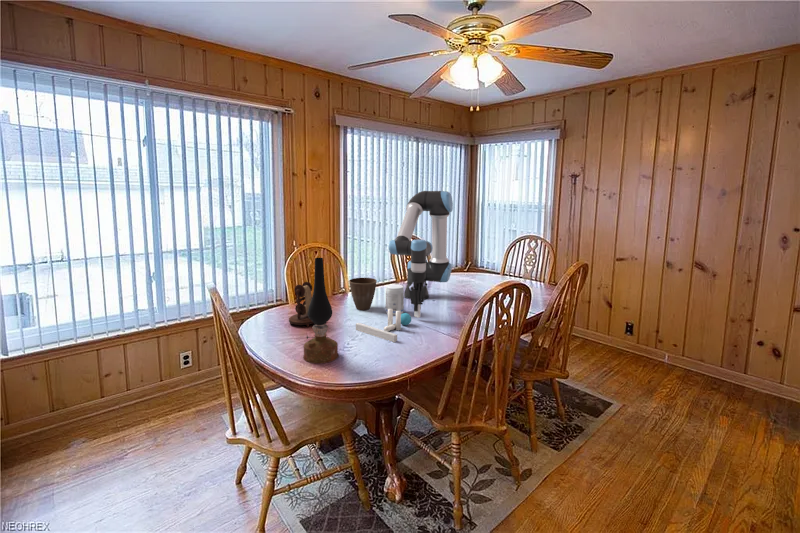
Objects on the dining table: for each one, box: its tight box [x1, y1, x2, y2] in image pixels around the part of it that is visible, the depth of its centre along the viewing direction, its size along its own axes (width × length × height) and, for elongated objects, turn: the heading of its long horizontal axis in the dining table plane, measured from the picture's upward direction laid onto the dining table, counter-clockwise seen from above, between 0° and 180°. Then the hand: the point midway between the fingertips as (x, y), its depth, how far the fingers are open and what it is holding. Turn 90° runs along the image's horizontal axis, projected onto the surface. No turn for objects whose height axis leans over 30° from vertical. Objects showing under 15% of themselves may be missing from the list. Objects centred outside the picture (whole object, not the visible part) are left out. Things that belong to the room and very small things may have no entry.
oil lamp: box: [302, 257, 339, 364], centre depth 163 cm, size 14×15×40 cm
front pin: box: [383, 322, 396, 332], centre depth 197 cm, size 2×2×9 cm
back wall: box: [355, 322, 398, 343], centre depth 188 cm, size 2×24×3 cm, turn 49°
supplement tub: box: [385, 284, 405, 316], centre depth 222 cm, size 10×10×15 cm
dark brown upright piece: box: [288, 281, 314, 328], centre depth 203 cm, size 15×15×20 cm
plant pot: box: [348, 277, 377, 311], centre depth 229 cm, size 15×15×16 cm
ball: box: [401, 312, 412, 326], centre depth 203 cm, size 6×6×6 cm
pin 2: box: [395, 311, 402, 331], centre depth 196 cm, size 2×2×9 cm
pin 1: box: [387, 309, 394, 326], centre depth 199 cm, size 2×2×9 cm
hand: (417, 316), depth 211 cm, fingers closed
